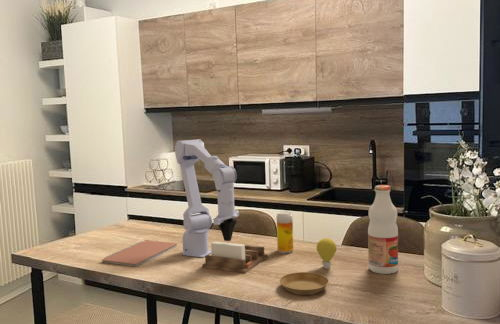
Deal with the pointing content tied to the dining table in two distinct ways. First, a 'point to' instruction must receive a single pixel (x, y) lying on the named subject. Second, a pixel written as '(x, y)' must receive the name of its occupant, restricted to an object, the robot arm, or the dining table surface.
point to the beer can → (284, 232)
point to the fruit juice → (383, 233)
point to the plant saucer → (304, 283)
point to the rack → (237, 260)
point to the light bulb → (326, 251)
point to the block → (228, 250)
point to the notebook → (139, 253)
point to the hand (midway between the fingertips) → (227, 240)
